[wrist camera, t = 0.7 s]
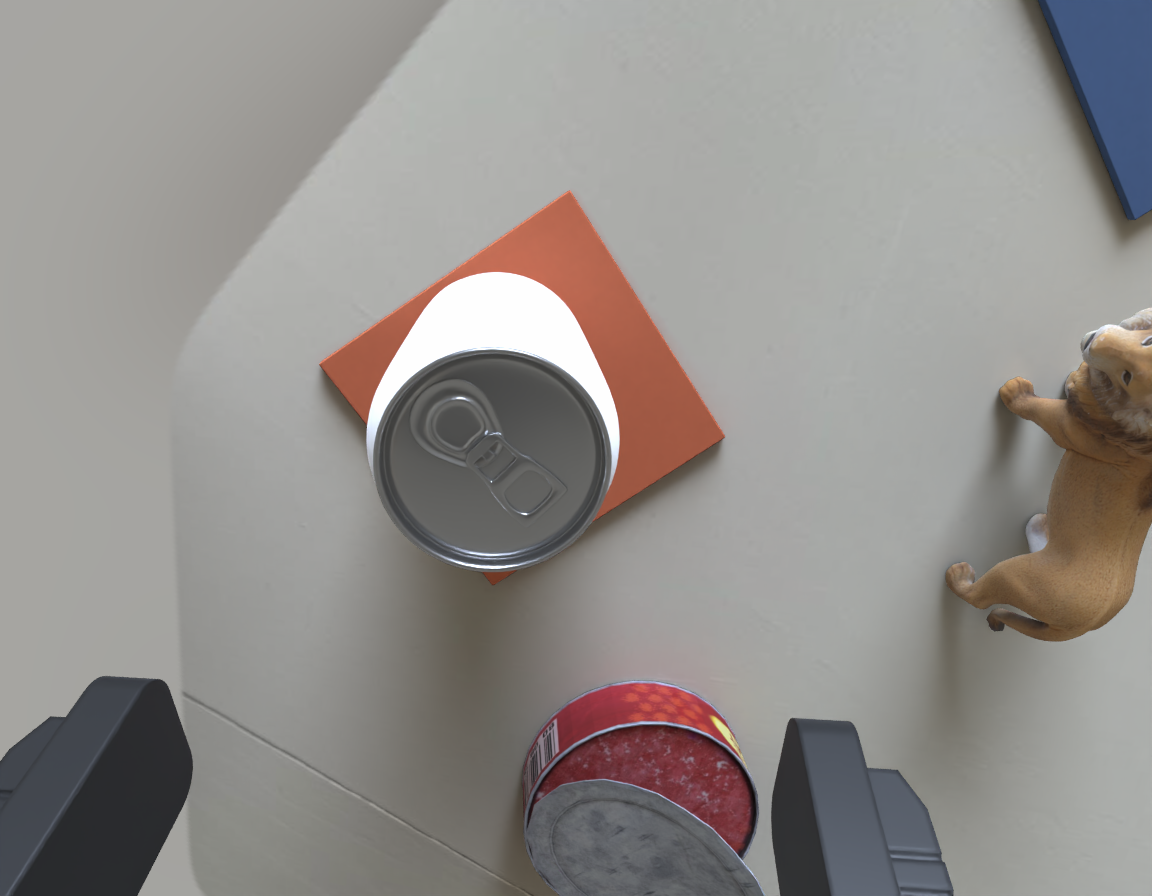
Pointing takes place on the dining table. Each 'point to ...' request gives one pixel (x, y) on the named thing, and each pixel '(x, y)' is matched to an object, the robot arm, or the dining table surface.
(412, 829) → the dining table surface
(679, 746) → the canned food
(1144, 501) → the lion figurine
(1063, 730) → the dining table surface
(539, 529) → the can
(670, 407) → the terracotta mat
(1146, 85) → the blue mat
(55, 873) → the robot arm
